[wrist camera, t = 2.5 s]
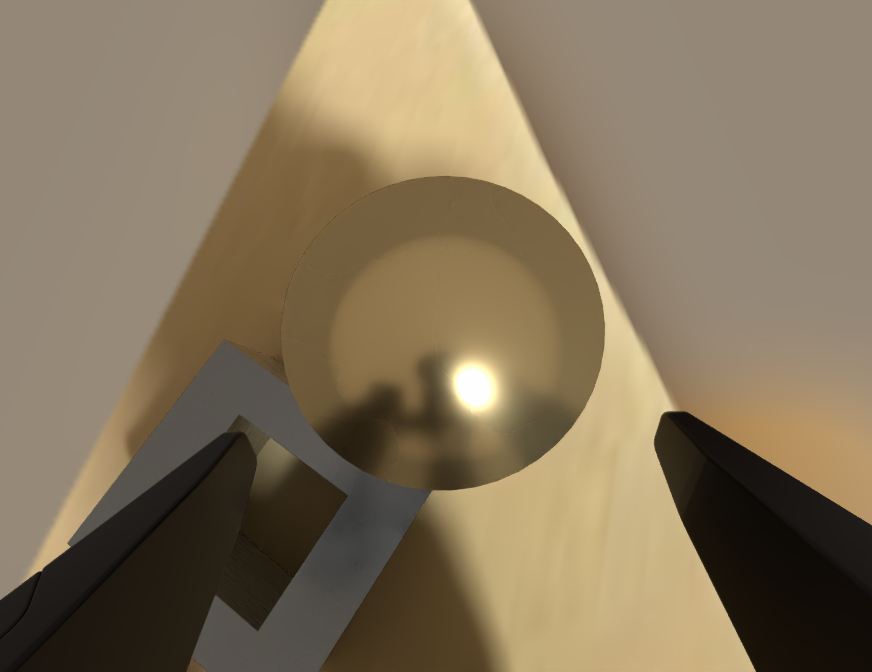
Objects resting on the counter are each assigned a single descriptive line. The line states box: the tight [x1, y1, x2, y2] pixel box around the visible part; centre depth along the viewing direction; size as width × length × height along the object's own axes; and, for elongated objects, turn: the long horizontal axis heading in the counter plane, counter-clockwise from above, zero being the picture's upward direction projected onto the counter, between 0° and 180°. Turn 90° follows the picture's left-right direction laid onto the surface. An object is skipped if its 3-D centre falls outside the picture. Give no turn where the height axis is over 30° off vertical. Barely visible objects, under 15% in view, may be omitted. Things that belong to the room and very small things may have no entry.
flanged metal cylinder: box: [281, 176, 605, 490], centre depth 12 cm, size 5×5×13 cm
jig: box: [67, 340, 432, 672], centre depth 16 cm, size 9×10×4 cm
